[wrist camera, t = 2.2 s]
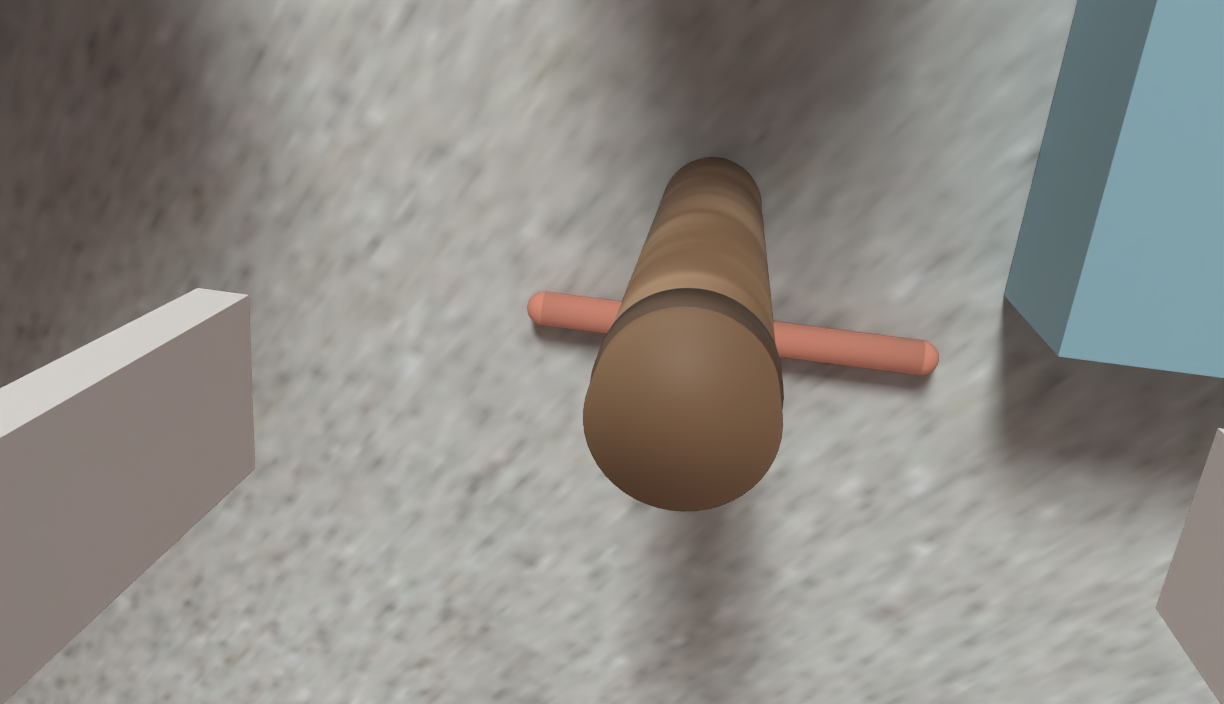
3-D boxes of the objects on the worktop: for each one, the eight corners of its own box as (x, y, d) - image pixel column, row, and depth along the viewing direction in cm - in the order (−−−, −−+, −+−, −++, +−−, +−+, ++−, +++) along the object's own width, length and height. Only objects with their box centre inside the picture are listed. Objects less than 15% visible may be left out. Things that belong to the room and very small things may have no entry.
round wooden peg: (655, 250, 28) (571, 499, 14) (667, 149, 27) (589, 312, 13) (755, 262, 28) (769, 528, 14) (770, 162, 27) (802, 340, 13)
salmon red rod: (530, 316, 29) (523, 327, 28) (532, 285, 29) (525, 294, 28) (931, 369, 28) (937, 382, 27) (939, 338, 28) (945, 349, 27)
